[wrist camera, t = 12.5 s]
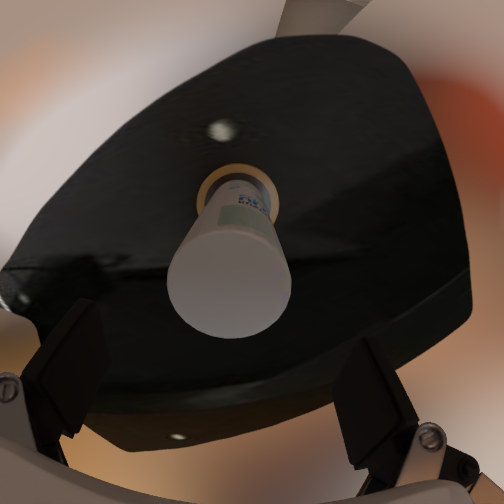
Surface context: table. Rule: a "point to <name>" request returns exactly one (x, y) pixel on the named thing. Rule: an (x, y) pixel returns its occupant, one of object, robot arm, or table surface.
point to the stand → (240, 173)
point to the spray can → (230, 266)
